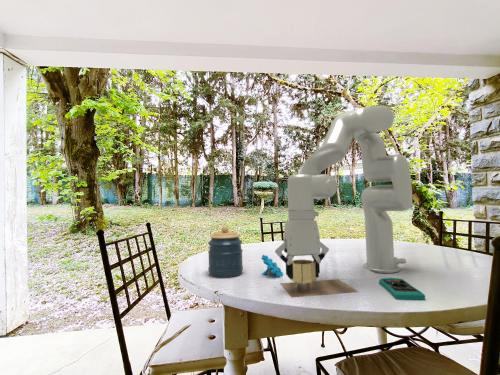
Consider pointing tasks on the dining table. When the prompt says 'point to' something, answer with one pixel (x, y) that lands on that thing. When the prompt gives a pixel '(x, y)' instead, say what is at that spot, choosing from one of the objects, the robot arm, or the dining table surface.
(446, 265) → the dining table surface
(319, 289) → the board
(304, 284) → the piston post
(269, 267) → the gear
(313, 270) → the ring
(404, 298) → the digital multimeter
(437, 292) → the dining table surface
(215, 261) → the canister
